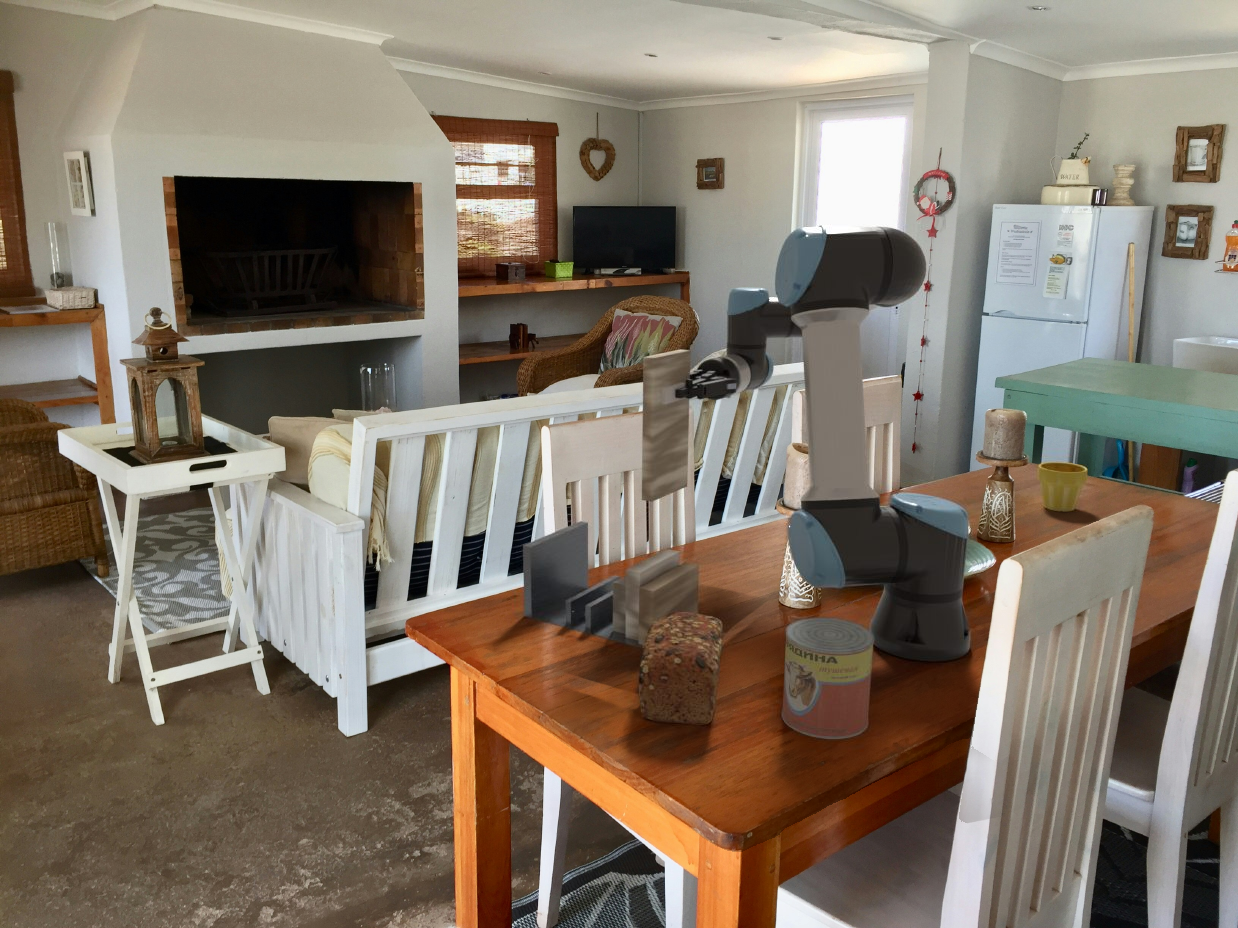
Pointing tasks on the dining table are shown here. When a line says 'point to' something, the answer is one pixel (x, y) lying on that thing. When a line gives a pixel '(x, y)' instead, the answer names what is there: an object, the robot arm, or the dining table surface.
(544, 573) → the metal rack
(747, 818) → the dining table surface
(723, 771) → the dining table surface
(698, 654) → the bread
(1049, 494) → the plant pot
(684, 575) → the offcut stack
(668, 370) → the plywood sheet
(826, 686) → the canned food
